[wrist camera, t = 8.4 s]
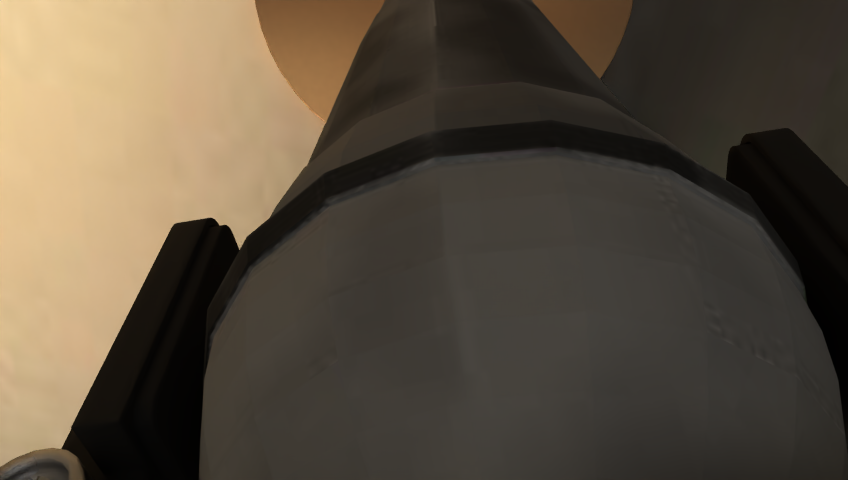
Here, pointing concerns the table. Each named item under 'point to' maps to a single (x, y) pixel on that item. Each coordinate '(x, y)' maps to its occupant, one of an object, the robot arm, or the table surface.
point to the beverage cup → (509, 287)
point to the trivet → (355, 11)
